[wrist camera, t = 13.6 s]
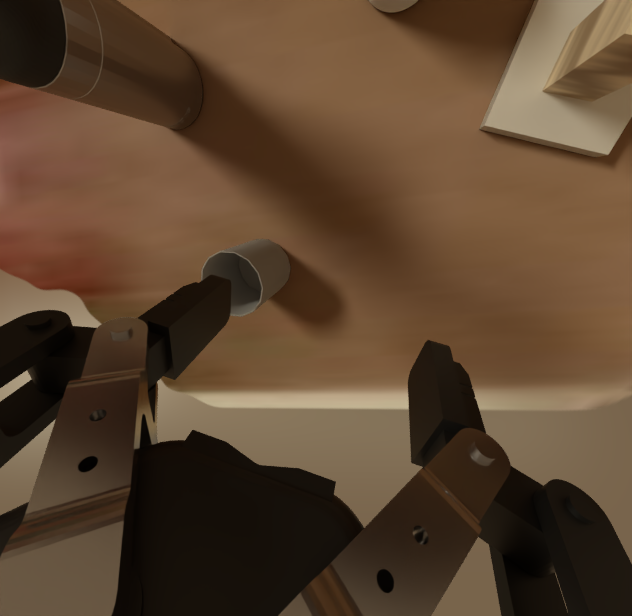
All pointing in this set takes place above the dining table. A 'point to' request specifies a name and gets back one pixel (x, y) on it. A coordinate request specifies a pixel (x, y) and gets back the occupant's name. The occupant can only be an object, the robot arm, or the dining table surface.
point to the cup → (250, 273)
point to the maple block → (596, 54)
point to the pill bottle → (392, 5)
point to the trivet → (546, 108)
